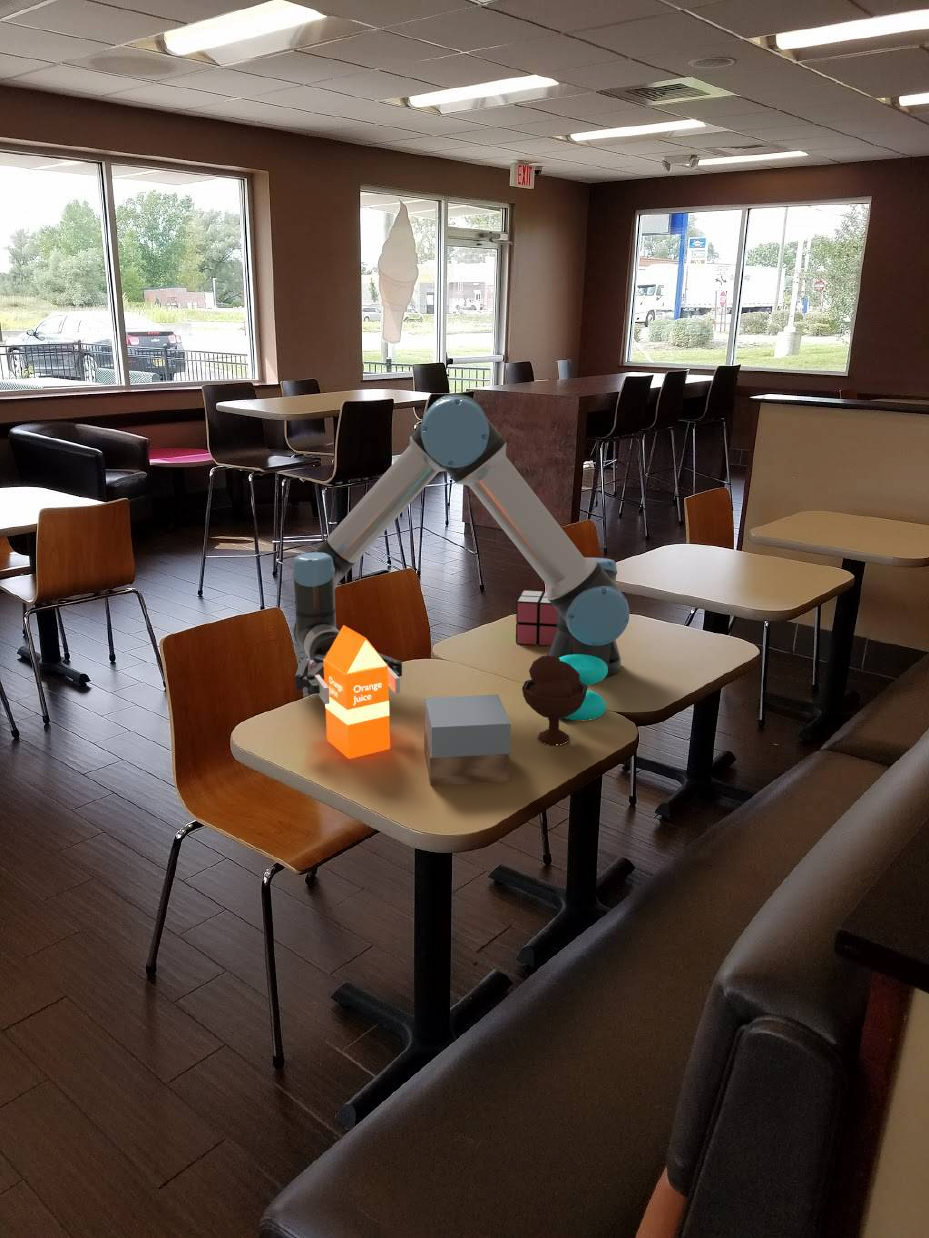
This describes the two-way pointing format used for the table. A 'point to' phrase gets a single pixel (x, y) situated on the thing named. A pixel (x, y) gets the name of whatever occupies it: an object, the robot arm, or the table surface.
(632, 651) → the table surface
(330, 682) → the orange juice
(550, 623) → the puzzle cube
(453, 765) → the lower block
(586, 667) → the donuts
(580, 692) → the ice cream bowl
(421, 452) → the robot arm
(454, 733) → the upper block
